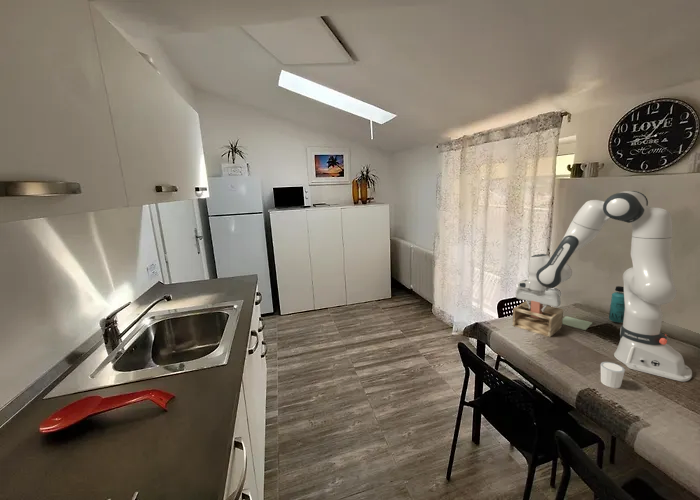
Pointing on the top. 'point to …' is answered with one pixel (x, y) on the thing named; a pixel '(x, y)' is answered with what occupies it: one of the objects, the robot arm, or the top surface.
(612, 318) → the beverage bottle
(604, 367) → the white cup
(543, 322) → the wooden crate
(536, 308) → the block
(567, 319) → the zone pad
